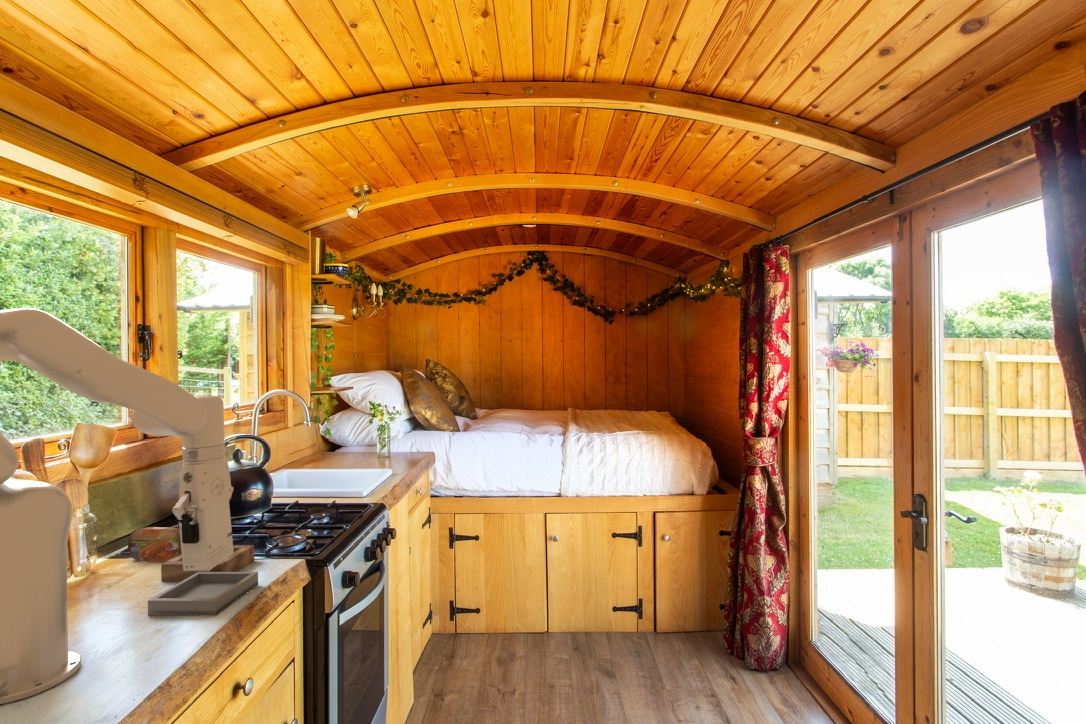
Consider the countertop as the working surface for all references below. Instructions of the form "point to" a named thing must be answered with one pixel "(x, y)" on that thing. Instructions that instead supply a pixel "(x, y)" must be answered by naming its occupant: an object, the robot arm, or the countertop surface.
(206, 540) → the skincare box
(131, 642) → the countertop surface
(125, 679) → the countertop surface
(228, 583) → the gray tray
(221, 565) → the walnut holder
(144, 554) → the tin
